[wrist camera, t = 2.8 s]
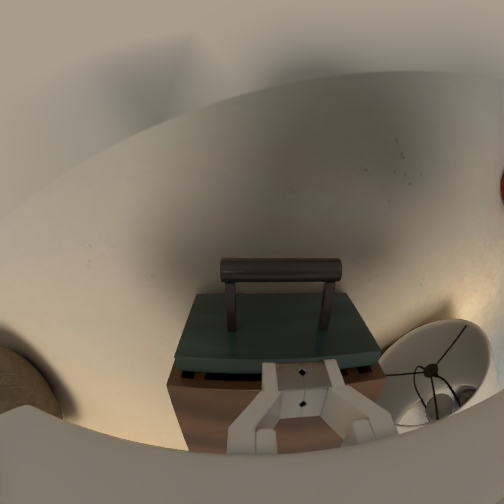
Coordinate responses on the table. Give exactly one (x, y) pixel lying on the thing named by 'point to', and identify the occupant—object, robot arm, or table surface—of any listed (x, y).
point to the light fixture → (437, 370)
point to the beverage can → (503, 187)
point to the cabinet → (235, 402)
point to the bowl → (24, 385)
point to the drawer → (273, 323)
